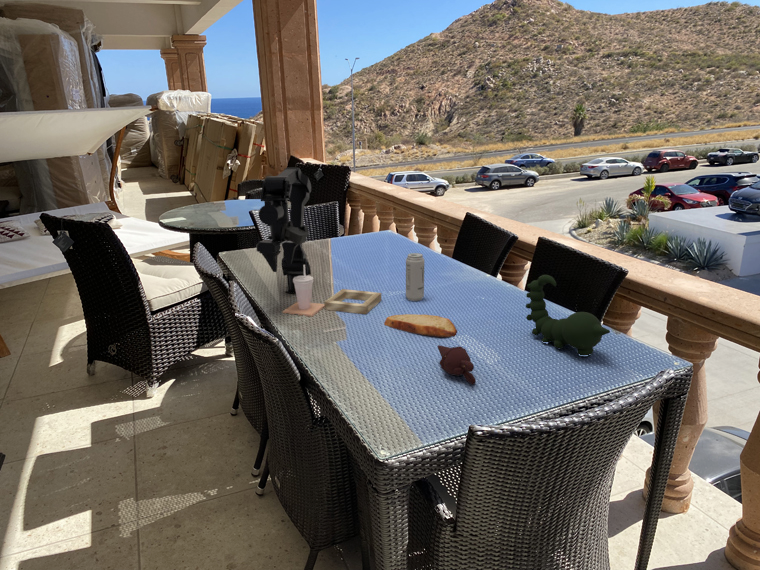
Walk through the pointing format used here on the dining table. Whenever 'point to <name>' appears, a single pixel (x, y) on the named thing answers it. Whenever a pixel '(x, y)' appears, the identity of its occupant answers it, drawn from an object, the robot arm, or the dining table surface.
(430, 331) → the slice of bread
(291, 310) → the coaster
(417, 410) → the dining table surface
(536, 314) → the toy figurine
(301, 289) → the smoothie
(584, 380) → the dining table surface
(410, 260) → the energy drink can
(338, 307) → the holder
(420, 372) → the dining table surface
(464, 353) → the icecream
